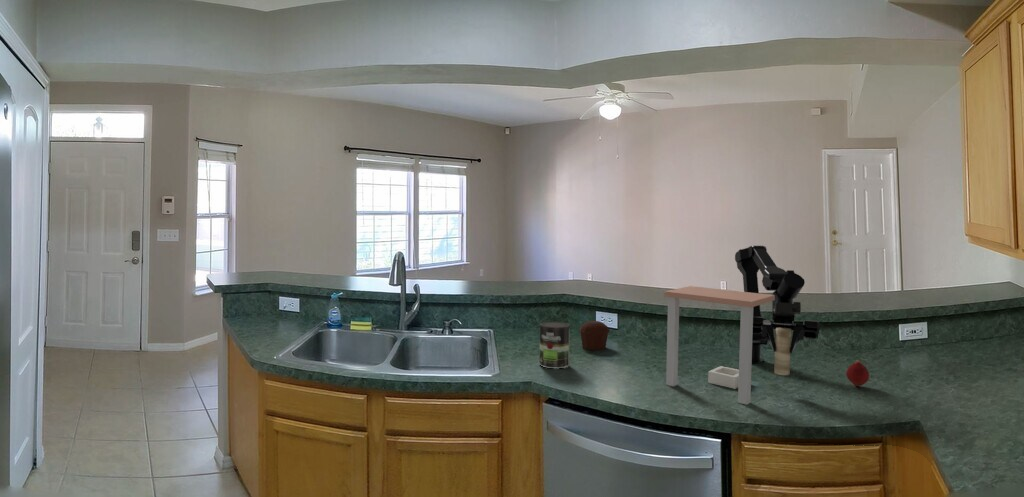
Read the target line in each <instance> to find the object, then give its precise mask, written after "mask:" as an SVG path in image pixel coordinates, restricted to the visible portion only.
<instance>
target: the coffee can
mask: <svg viewBox="0 0 1024 497" xmlns="http://www.w3.org/2000/svg"><path fill="white" fill-rule="evenodd" d="M570 327H571V325H570V323H568V322H564V321H543V322H540V323H539V363H540V365H541V366H543V367H548V368H564V369H566V368H565V367H567V368H569V367H570V331H571V330H570ZM540 365H539V366H540ZM541 366H540V367H541ZM568 366H569V367H568ZM543 367H542V368H543Z"/></svg>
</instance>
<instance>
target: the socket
mask: <svg viewBox="0 0 1024 497" xmlns="http://www.w3.org/2000/svg"><path fill="white" fill-rule="evenodd" d="M707 373H708V376H707V378H708V379H707V383H708V384H712V385H717V386H722V387H725V388H729V389H734V390H736V389H738V384H739V368H738V369H737V368H733V367H728V366H727V367H726V366H722V365H720V366H718V367H715V368H713V369H711V370H709V371H708V372H707Z"/></svg>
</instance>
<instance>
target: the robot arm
mask: <svg viewBox="0 0 1024 497" xmlns="http://www.w3.org/2000/svg"><path fill="white" fill-rule="evenodd" d="M767 251H768V250H767V247H766V246H764V245H750V246H748V247H745V248H742V249H741V248H740V249H739V250H737V251H736V252H735V253H734V254H735V255H734V260H735V262H736V267H737V269H738V271H739V272H740V273H741V274H742V281H743V292H750V293H759V294H760V292H759V280H758V279H759V278H758V272H759V271H760V272H761V274H762V280H761V283H762V286H763V287H764V289H765V290H766V291H767V292H768V291H772V294H771V295H775V300H774V301H771V306H772V307H771V308H772V309H771V320H768V319H766V318H764V317H763V315H762V313H761V305H758V306H754V307H753V334H752V364H760V363H762V362H763V361H765V358H763V357H761V355H762V354H761V353H762V350H761V349H762V345H766V346H767V345H768V343H769V345H770V347H771V350H772V352H773V353H775V333H774V331H776V328H779V327H782V328H789V329H791V332H792V334H791V348H790V355H792V354H793V352H794V350H795V348H796V345H797V344H798V343H799V341H803V340H804V338H805V339H812V340H813V339H814V340H815V339H816V340H817V339H818V338H819V333H820V327H821V326H820V322H819V321H818V320H811V319H810V320H809V319H803V323H802V324H796V323H794V321H795V315H801V312H802V311H801V308H802V306H801V301H794V299H796V298H797V297H798V295H799V293H800V292H801V291H802V289H803V287H804V286H805V283H806V282H805V279H804V278H803V277H802V276H801V275H799V274H797V273H796V272H795V271H794V270H789V269H787V270H785V269H783V268H781V267H778V266H777V265H776V263H775V262H774V260H773V258H772V257H771V256H770V254H769V252H767ZM736 337H737V342H738V343H739V344H740V330H739V332H738V334H737V336H736Z"/></svg>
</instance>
